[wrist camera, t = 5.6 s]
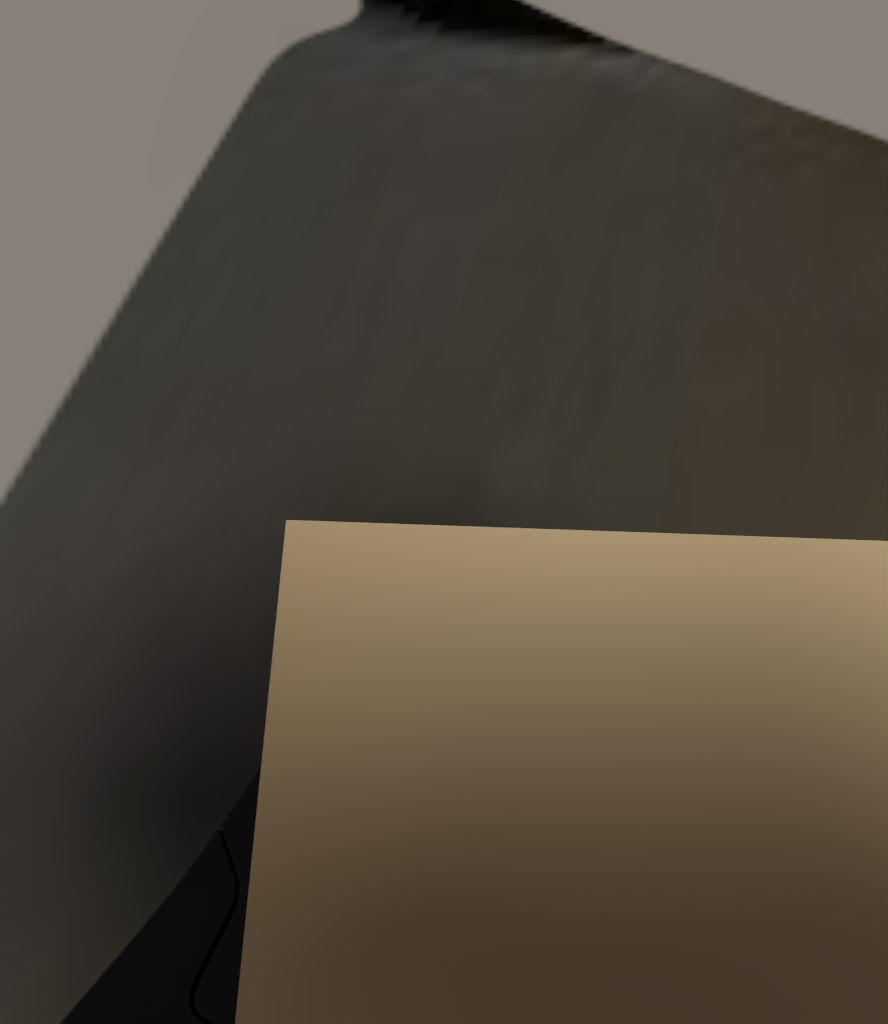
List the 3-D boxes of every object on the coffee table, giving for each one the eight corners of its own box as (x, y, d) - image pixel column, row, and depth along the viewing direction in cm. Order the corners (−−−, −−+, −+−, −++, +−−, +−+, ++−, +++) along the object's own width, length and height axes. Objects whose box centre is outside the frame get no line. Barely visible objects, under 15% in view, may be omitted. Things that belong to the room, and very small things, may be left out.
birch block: (570, 806, 15) (1345, 1698, 2) (389, 801, 15) (164, 1703, 2) (566, 621, 16) (1060, 547, 4) (399, 616, 16) (285, 519, 3)
